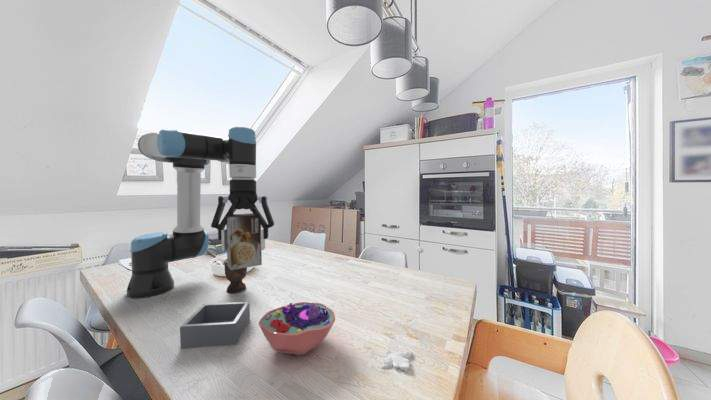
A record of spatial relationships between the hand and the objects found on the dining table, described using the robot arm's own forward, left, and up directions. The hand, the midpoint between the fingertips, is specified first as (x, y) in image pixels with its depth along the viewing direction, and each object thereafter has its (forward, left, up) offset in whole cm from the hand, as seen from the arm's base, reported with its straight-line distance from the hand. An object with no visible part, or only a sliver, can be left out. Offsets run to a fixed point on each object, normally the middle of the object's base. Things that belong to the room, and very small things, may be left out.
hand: (244, 249), depth 78 cm
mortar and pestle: (-10, +26, -24) cm, 37 cm away
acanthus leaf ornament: (+43, -23, -24) cm, 54 cm away
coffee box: (0, 0, -5) cm, 5 cm away
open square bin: (-6, -5, -23) cm, 25 cm away
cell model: (+18, -14, -24) cm, 33 cm away
